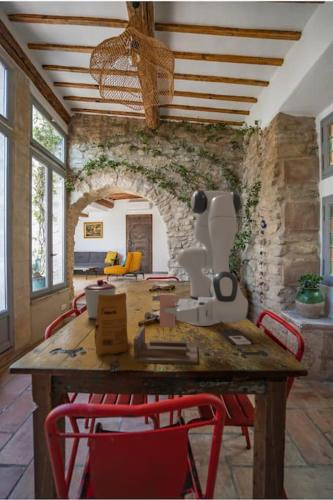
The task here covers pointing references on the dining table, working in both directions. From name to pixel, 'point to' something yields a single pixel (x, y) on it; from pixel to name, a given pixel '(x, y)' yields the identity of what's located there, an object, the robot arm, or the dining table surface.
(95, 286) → the canister
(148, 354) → the rack
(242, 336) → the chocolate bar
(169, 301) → the tile
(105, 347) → the coffee package
